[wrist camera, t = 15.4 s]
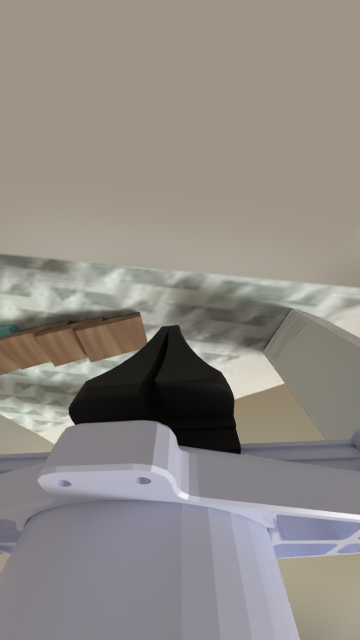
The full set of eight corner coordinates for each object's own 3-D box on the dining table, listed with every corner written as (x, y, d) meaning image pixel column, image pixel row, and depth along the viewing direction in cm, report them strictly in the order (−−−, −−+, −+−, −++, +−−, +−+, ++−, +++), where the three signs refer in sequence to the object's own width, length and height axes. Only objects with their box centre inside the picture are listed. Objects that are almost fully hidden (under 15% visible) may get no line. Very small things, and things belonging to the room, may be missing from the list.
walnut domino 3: (101, 320, 22) (35, 337, 20) (113, 350, 24) (55, 366, 22) (103, 316, 23) (41, 331, 22) (114, 344, 25) (59, 359, 24)
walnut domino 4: (140, 316, 21) (75, 331, 20) (148, 346, 24) (90, 362, 22) (139, 312, 23) (79, 326, 21) (147, 341, 25) (93, 355, 23)
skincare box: (291, 359, 26) (401, 483, 13) (259, 350, 26) (341, 471, 12) (327, 316, 23) (531, 427, 9) (291, 304, 22) (457, 406, 9)
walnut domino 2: (66, 324, 22) (-2, 340, 21) (81, 352, 24) (21, 369, 23) (69, 319, 23) (6, 334, 22) (83, 347, 26) (27, 362, 24)
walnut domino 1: (26, 333, 23) (-40, 353, 21) (47, 359, 25) (-11, 378, 24) (31, 328, 24) (-30, 346, 23) (51, 353, 26) (-4, 371, 25)
